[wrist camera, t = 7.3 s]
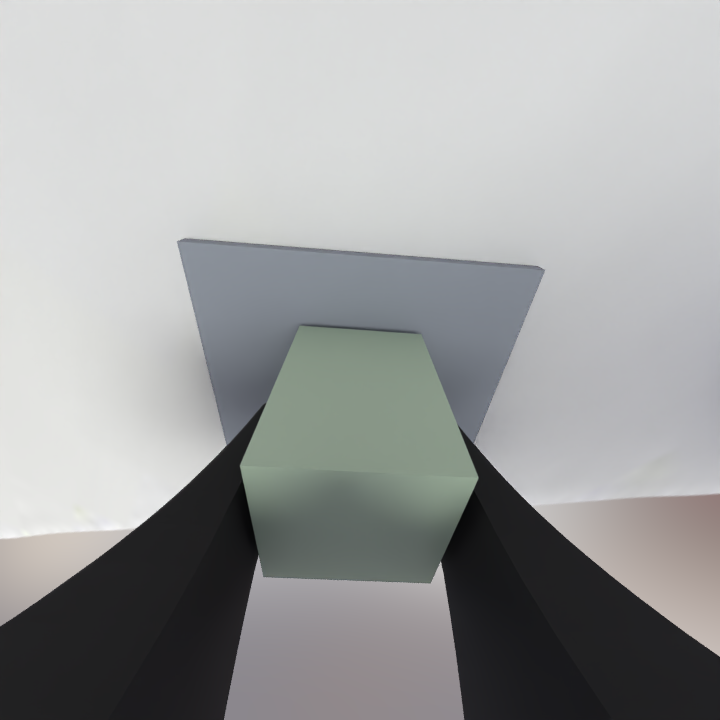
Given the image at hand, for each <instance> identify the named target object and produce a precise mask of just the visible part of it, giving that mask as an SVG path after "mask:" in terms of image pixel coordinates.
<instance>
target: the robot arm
mask: <svg viewBox="0 0 720 720" xmlns="http://www.w3.org/2000/svg"><path fill="white" fill-rule="evenodd" d="M265 406H266V403H265V404H263V405H262V406H261V407H260V409H259V410H258V411H257V412H256V413H255V415H254V416H253V417H252V418H251V419H250V420H249V422H248V423H247V424H246V425H245V426H244V427H243V428H242V430H241V431H240V432H239V433H238V434H237V435H236V436H235V437H234V438H233V439H232V441H231V442H230V443H229V444H228V445H227V446H226V447H225V448H224V449H223V450H222V451H221V452H220V453H219V454H218V455H217V456H216V457H215V458H214V459H213V460H212V461H211V462H210V463H209V464H208V465H207V466H206V467H205V468H204V469H203V470H202V471H201V472H200V473H199V474H198V475H197V476H196V477H195V478H194V479H193V480H192V481H191V482H190V483H189V484H188V485H187V486H185V487H184V488H183V489H182V490H181V491H180V492H179V493H178V494H177V495H176V496H174V497H173V498H172V499H171V500H170V501H169V502H168V503H166V504H165V505H164V506H163V507H162V508H161V509H159V510H158V511H157V512H156V513H155V514H153V515H152V516H151V517H150V518H149V519H147V520H146V521H145V522H144V523H142V524H141V525H140V526H139V527H137V528H136V529H135V530H134V531H132V532H131V533H130V534H129V535H127V536H126V537H125V538H124V539H122V540H121V541H120V542H119V543H117V544H116V545H115V546H113V547H112V548H111V549H110V550H108V551H107V552H106V553H104V554H103V555H102V556H100V557H99V558H98V559H96V560H95V561H94V562H92V563H91V564H89V565H88V566H86V567H85V568H84V569H82V570H81V571H79V573H77V574H75V575H74V576H72V577H71V578H70V579H68V580H67V581H66V582H64V583H63V584H61V585H60V586H59V587H57V588H56V589H54V590H53V591H52V592H50V593H49V594H47V595H46V596H45V597H43V598H42V599H41V600H39V601H38V602H36V603H35V604H33V605H32V606H30V607H29V608H27V609H26V610H25V611H23V612H21V613H20V614H19V615H17V616H16V617H14V618H13V619H11V620H10V621H8V622H6V623H5V624H3V625H2V626H0V720H224V716H225V710H226V705H227V700H228V695H229V690H230V685H231V680H232V675H233V669H234V664H235V660H236V654H237V649H238V645H239V640H240V635H241V630H242V626H243V621H244V616H245V611H246V607H247V602H248V598H249V593H250V588H251V584H252V580H253V575H254V570H255V566H256V563H257V559H258V555H259V553H258V549H257V544H256V539H255V535H254V530H253V525H252V520H251V516H250V511H249V506H248V501H247V497H246V492H245V487H244V483H243V478H242V473H241V468H240V464H241V462H242V460H243V457H244V455H245V452H246V450H247V448H248V445H249V443H250V441H251V438H252V436H253V434H254V431H255V429H256V427H257V424H258V422H259V420H260V417H261V415H262V413H263V410H264V408H265ZM457 425H458V424H457ZM458 427H459V425H458ZM459 430H460V433H461V435H462V438H463V440H464V443H465V445H466V448H467V450H468V453H469V455H470V458H471V460H472V463H473V465H474V468H475V470H476V473H477V475H478V481H477V483H476V485H475V487H474V489H473V491H472V494H471V496H470V498H469V500H468V502H467V505H466V507H465V509H464V511H463V513H462V516H461V518H460V520H459V522H458V524H457V527H456V529H455V531H454V533H453V535H452V537H451V540H450V542H449V544H448V546H447V548H446V551H445V553H444V555H443V557H442V559H441V563H442V568H443V572H444V579H445V584H446V591H447V597H448V603H449V610H450V616H451V623H452V630H453V636H454V643H455V650H456V657H457V665H458V673H459V680H460V688H461V695H462V704H463V711H464V720H720V657H719V656H718V655H717V654H715V653H714V652H712V651H710V650H709V649H708V648H707V647H705V646H704V645H702V644H700V643H699V642H698V641H697V640H695V639H694V638H692V637H691V636H689V635H688V634H686V633H685V632H684V631H682V630H681V629H680V628H678V627H677V626H676V625H674V624H673V623H672V622H670V621H669V620H668V619H666V618H665V617H664V616H662V615H661V614H660V613H658V612H657V611H656V610H654V609H653V608H652V607H650V606H649V605H648V604H646V603H645V602H644V601H642V600H641V599H640V598H639V597H637V596H636V595H634V594H633V593H632V592H631V591H630V590H628V589H627V588H626V587H624V586H623V585H622V584H621V583H619V582H618V581H617V580H615V579H614V578H613V577H612V576H610V575H609V574H608V573H607V572H606V571H604V570H603V569H602V568H601V567H599V566H598V565H597V564H596V563H595V562H593V561H592V560H591V559H590V558H589V557H588V556H586V555H585V554H584V553H583V552H582V551H580V550H579V549H578V548H577V547H576V546H575V545H573V544H572V543H571V542H570V541H569V540H568V539H566V538H565V537H564V536H563V535H562V534H561V533H560V532H559V531H557V530H556V529H555V528H554V527H553V526H552V525H551V524H550V523H549V522H548V521H547V520H546V519H544V518H543V517H542V516H541V515H540V514H539V513H538V512H537V511H536V510H535V509H534V508H533V507H532V506H531V505H530V504H529V503H528V502H527V501H526V500H525V499H524V498H523V497H522V496H521V495H520V494H519V493H518V492H517V491H516V490H515V489H514V488H513V487H512V486H511V485H510V484H509V483H508V482H507V481H506V480H505V479H504V478H503V477H502V475H501V474H500V473H499V472H498V471H497V470H496V469H495V468H494V467H493V466H492V464H491V463H490V462H489V461H488V460H487V459H486V458H485V456H484V455H483V454H482V453H481V452H480V451H479V450H478V448H477V447H476V446H475V445H474V444H473V442H472V441H471V440H470V439H469V438H468V436H467V435H466V434H465V433H464V432H463V430H462V429H461V428H460V427H459Z"/></svg>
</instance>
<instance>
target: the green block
mask: <svg viewBox="0 0 720 720" xmlns="http://www.w3.org/2000/svg"><path fill="white" fill-rule="evenodd" d="M240 468H241V473H242V478H243V483H244V487H245V492H246V497H247V501H248V506H249V511H250V516H251V520H252V525H253V530H254V535H255V539H256V544H257V549H258V553H259V558H260V563H261V568H262V572H263V577H275V578H302V579H329V580H355V581H382V582H408V583H409V582H410V583H431V581H432V579H433V577H434V575H435V572H436V570H437V568H438V566H439V564H440V562H441V559H442V557H443V555H444V553H445V551H446V548H447V546H448V544H449V542H450V540H451V537H452V535H453V533H454V531H455V529H456V527H457V524H458V522H459V520H460V518H461V516H462V513H463V511H464V509H465V507H466V505H467V502H468V500H469V498H470V496H471V494H472V491H473V489H474V487H475V485H476V483H477V481H478V475H477V473H476V470H475V468H474V465H473V463H472V460H471V458H470V455H469V453H468V450H467V448H466V445H465V443H464V440H463V438H462V435H461V433H460V430H459V427H458V425H457V422H456V420H455V417H454V415H453V412H452V410H451V407H450V405H449V402H448V400H447V397H446V395H445V392H444V390H443V387H442V385H441V382H440V380H439V377H438V375H437V372H436V370H435V367H434V365H433V362H432V360H431V357H430V355H429V352H428V350H427V347H426V345H425V342H424V340H423V337H422V335H421V334H411V333H397V332H383V331H369V330H355V329H341V328H327V327H313V326H299V328H298V331H297V333H296V335H295V338H294V340H293V342H292V345H291V347H290V349H289V352H288V354H287V356H286V359H285V361H284V363H283V366H282V368H281V370H280V373H279V375H278V377H277V380H276V382H275V384H274V387H273V389H272V392H271V394H270V396H269V399H268V401H267V403H266V406H265V408H264V410H263V413H262V415H261V417H260V420H259V422H258V424H257V427H256V429H255V431H254V434H253V436H252V438H251V441H250V443H249V445H248V448H247V450H246V452H245V455H244V457H243V460H242V462H241V464H240Z"/></svg>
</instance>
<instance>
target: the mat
mask: <svg viewBox="0 0 720 720" xmlns="http://www.w3.org/2000/svg"><path fill="white" fill-rule="evenodd" d="M177 243H178V248H179V252H180V256H181V260H182V264H183V268H184V272H185V276H186V280H187V284H188V289H189V293H190V297H191V301H192V305H193V309H194V313H195V317H196V321H197V325H198V329H199V334H200V338H201V342H202V346H203V350H204V354H205V358H206V362H207V366H208V370H209V374H210V379H211V383H212V387H213V391H214V395H215V399H216V403H217V407H218V411H219V415H220V420H221V424H222V428H223V432H224V436H225V440H226V444H227V445H228V444H229V443H230V442H231V441H232V439H233V438H234V437H235V436H236V435H237V434H238V433H239V432H240V431H241V430H242V428H243V427H244V426H245V425H246V424H247V423H248V422H249V420H250V419H251V418H252V417H253V416H254V415H255V413H256V412H257V411H258V410H259V409H260V407H261V406H262V405H263V404H265V403H267V401H268V399H269V396H270V394H271V392H272V389H273V387H274V384H275V382H276V380H277V377H278V375H279V373H280V370H281V368H282V366H283V363H284V361H285V359H286V356H287V354H288V352H289V349H290V347H291V345H292V342H293V340H294V338H295V335H296V333H297V331H298V328H299V326H313V327H327V328H341V329H355V330H369V331H383V332H397V333H411V334H421V335H422V337H423V340H424V342H425V345H426V347H427V350H428V352H429V355H430V357H431V360H432V362H433V365H434V367H435V370H436V372H437V375H438V377H439V380H440V382H441V385H442V387H443V390H444V392H445V395H446V397H447V400H448V402H449V405H450V407H451V410H452V412H453V415H454V417H455V420H456V422H457V424H458V425H459V427H460V428H461V429H462V430H463V432H464V433H465V434H466V435H467V436H468V438H469V439H470V440H471V441H472V442H473V443H474V441H475V439H476V436H477V434H478V431H479V429H480V426H481V424H482V422H483V419H484V417H485V414H486V412H487V409H488V407H489V405H490V402H491V400H492V397H493V395H494V393H495V390H496V388H497V385H498V383H499V380H500V378H501V376H502V373H503V371H504V368H505V366H506V363H507V361H508V359H509V356H510V354H511V351H512V349H513V347H514V344H515V342H516V339H517V337H518V334H519V332H520V330H521V327H522V325H523V322H524V320H525V317H526V315H527V313H528V310H529V308H530V305H531V303H532V301H533V298H534V296H535V293H536V291H537V288H538V286H539V284H540V281H541V279H542V276H543V274H544V271H545V270H544V269H542V268H540V267H538V266H527V265H514V264H502V263H489V262H476V261H463V260H451V259H438V258H425V257H413V256H400V255H387V254H374V253H362V252H349V251H336V250H324V249H311V248H298V247H285V246H273V245H260V244H247V243H235V242H222V241H209V240H196V239H182V240H180V241H177Z"/></svg>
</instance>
